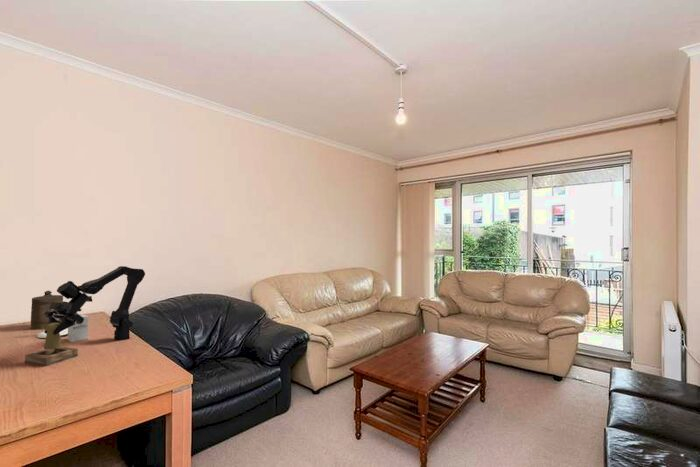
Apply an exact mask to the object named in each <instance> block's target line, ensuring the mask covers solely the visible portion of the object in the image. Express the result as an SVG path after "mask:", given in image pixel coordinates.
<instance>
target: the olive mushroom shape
mask: <svg viewBox="0 0 700 467" xmlns="http://www.w3.org/2000/svg"><path fill="white" fill-rule="evenodd" d="M58 326H59V323H50V324H47V325H46V327H45V329H46V331H47V335H46V338H45V340H44V346H43V350H45V349H55V348H59V347H63V346H62V341H61V335H60V333H57V334H56V335H54V334H53V333H54V331H55V330H56V328H57V327H58Z"/></svg>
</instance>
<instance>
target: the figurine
mask: <svg viewBox="0 0 700 467" xmlns="http://www.w3.org/2000/svg"><path fill="white" fill-rule="evenodd" d="M51 310H54V309H51ZM54 311H55V312H56V310H54ZM47 319H48V318H47ZM47 324H48V323H47ZM45 327H46V326H45ZM45 330H46V329H45V328H44V329H43V330H42V331H40V332H38V333H37V334H36V338H39V339H40V338H42V339H46V335H47V334H46V333H45ZM59 333H60V336H64V335H68V328H67V329H65V330H63V331H61V332H59Z"/></svg>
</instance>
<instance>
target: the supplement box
mask: <svg viewBox="0 0 700 467" xmlns="http://www.w3.org/2000/svg"><path fill="white" fill-rule="evenodd" d="M79 315H80V316H82V317H83V318H84V321H83V323H82V324H77V323H76V322H75V325H73V326H71V327H69V328H68V334H67V341H69V342H71V343H75V342H79V341H86V340H88V339H89V316H88V315H86V314H79Z"/></svg>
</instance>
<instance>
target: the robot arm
mask: <svg viewBox="0 0 700 467" xmlns="http://www.w3.org/2000/svg"><path fill="white" fill-rule="evenodd" d="M123 275H124V276H126V280H127V281H126V282H127V283H126V287H125V289H124V292H123V295H122V297H121V301H120V303H119V305H118V308H117V309H116V310H112V312H111V315H110V317H109V322H110V324H111V325H112V327H113V328H114V331H113V332H114V336H113V338H114V340H115V341H123V340H130V338H131V337H130V328H132V327H133V326H134V323H133V322H132V321H131V320H130V311H129V310H130V306H131V304H132V302H133V299H134V296H135V293H136V289H137V287H138V285H139V284H140V283H141V282H142V281H143V279H144V278H145V276H146V272H145V270H144V269H142V268H133V267H129V266H123V265H120V266H118V267H117V268H115V269H113V270H111V271H109V272H108V273H106V274H105V275H102V276H100V277H99V278H96V279H91V280H88V281H85V282H84V283H82V284H81V285H76V284H75V282H74V281H72V280H68V281H67V282H65V283H63V284H61V285H59V286H58V288H57V289H56V292H57V293H58V294H59V295H62V296H63V298H66V299H67V300H68V299H69V301H63V302H62V303H57V302H52V303H51V305H50V307H49V309H54V310H57V311H56V312H55V311H46V312H45V313H44V314H43V315H44V316H45V317H47V318H48V319H49V323H48V324H50V323H59V326H58V327H57V328H56V330H55V331H54V333H53V334H54V335H56V334H57V333H59V332H61V331H63V330H65V329H67V328H69V327H71V326H73V325H75V322H76V323H77V324H82V323H83V321H84V318H83V317H82V316H80V315H81V314H79V313H78V312H82V307H83V306H85V304H86V302H87V303H88V302H89V303H90V302H91V303H92V302H93V298H92V297H93V296H92V295H96V294H97V293H100V291H101V290H103V289H104V287H105V286H106V285H108V284H110V283H111V282H113V281H115V280H117V279H118V278H119V277H120V278H121V277H122V276H123ZM57 312H58V313H59V314H58V313H57ZM60 320H61V322H59V321H60ZM44 331H45V333H46V334H47V331H46V330H44Z"/></svg>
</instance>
